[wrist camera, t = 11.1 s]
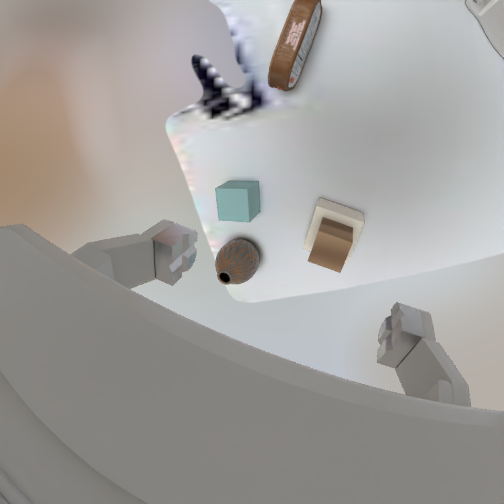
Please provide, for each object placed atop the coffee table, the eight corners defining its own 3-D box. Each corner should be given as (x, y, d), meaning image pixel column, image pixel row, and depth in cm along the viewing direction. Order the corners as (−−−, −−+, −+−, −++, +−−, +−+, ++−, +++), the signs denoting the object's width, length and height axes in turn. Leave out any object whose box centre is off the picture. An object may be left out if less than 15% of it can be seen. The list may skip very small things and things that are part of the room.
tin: (307, 5, 26) (295, -18, 19) (328, 11, 26) (321, -13, 19) (276, 89, 34) (257, 82, 27) (296, 96, 34) (282, 90, 27)
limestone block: (319, 197, 40) (316, 205, 36) (363, 213, 38) (364, 222, 35) (307, 237, 43) (302, 248, 40) (348, 252, 42) (347, 264, 39)
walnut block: (322, 216, 37) (318, 230, 33) (353, 227, 36) (352, 243, 32) (313, 244, 39) (307, 261, 35) (342, 254, 38) (340, 272, 34)
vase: (239, 273, 51) (219, 300, 44) (220, 242, 50) (196, 265, 42) (271, 262, 48) (254, 290, 41) (251, 228, 46) (230, 251, 39)
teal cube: (229, 180, 44) (215, 188, 39) (258, 181, 42) (247, 189, 38) (231, 209, 46) (218, 220, 42) (260, 211, 44) (249, 222, 40)
